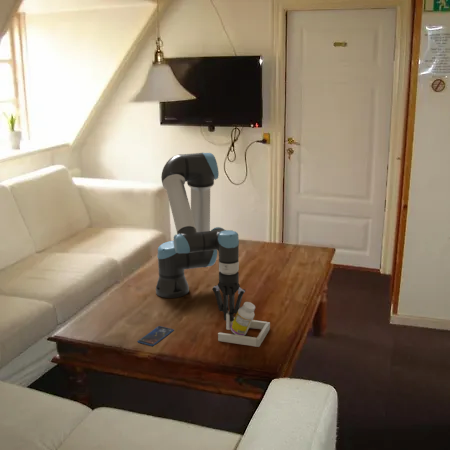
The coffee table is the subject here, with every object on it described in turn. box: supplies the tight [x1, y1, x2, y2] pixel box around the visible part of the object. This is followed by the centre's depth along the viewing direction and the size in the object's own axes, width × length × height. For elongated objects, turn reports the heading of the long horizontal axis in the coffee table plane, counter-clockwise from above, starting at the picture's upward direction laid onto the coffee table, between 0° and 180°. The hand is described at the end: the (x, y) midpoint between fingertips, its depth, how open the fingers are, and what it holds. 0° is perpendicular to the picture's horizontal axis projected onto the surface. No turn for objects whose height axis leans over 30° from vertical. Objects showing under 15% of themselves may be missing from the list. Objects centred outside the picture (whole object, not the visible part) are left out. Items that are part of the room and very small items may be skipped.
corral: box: [217, 316, 271, 348], centre depth 225 cm, size 16×15×3 cm
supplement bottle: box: [230, 301, 256, 336], centre depth 223 cm, size 7×7×13 cm
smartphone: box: [136, 325, 175, 347], centre depth 226 cm, size 8×1×15 cm
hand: (228, 328), depth 226 cm, fingers closed
